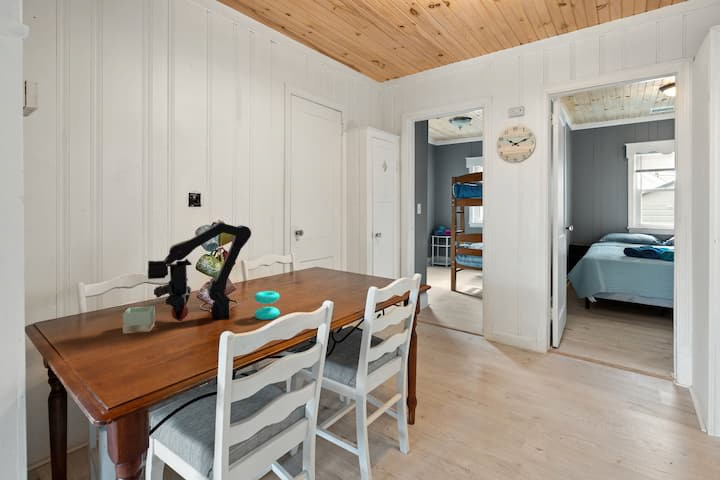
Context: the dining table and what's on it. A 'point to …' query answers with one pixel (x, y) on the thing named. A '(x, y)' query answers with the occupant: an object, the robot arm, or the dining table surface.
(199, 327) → the dining table surface
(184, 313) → the onion
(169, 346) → the dining table surface
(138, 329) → the base block
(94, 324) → the dining table surface
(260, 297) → the donuts
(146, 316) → the pale green open box
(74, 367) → the dining table surface
